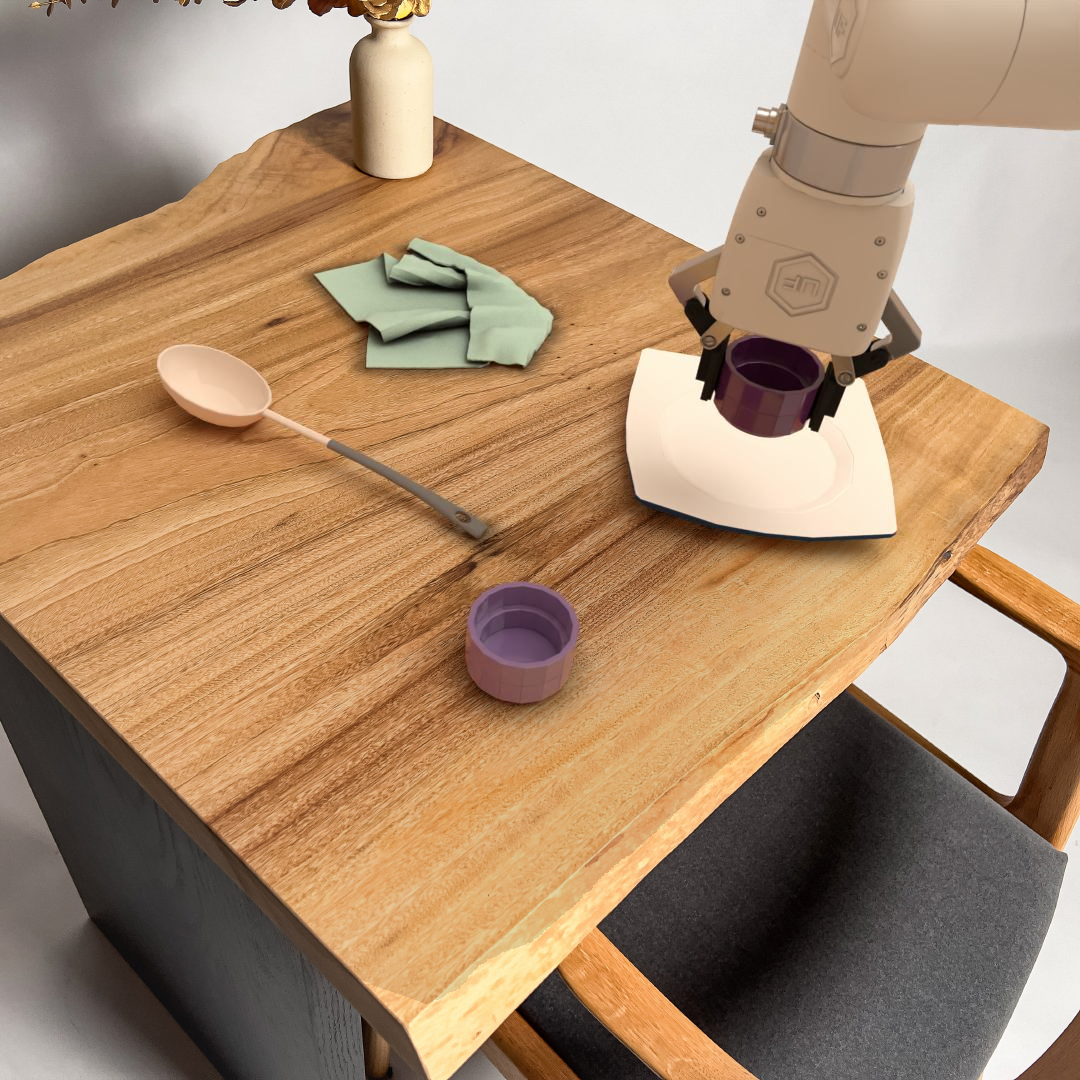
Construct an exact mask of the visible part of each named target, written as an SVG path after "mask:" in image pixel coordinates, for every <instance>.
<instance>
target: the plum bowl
mask: <svg viewBox="0 0 1080 1080" xmlns="http://www.w3.org/2000/svg"><path fill="white" fill-rule="evenodd" d="M825 368H826V367H825V365H824V364H823V362H822V361H821V359H820V358H819V356H818V355H817V354H816V353H814V352H813V350H811V349H807V348H804V347H800V346H796V345H792V344H788V343H785V342H781V341H777V340H773V339H770V338H766V337H762V336H759V335H755V334H746V335H744V336H741V337H739V338H736V339H733V340H732V341H731V343H730V344H728V346H727V348H726V350H725V354H724V357H723V361H722V364H721V368H720V372H719V375H718V379H717V382H716V386H715V390H714V399H713V401H714V404H715V406H716V408H717V410H718V412H719V414H721V416H723V417H724V419H725V420H726V421H727V422H728V423H729V424H731V425H732V426H733V427H735V428H737V429H738V430H740V431H742V432H745V433H747V434H750V435H753V436H758V437H764V438H777V437H783V436H788V435H791V434H794V433H796V432H798V431H800V430H802V429H803V428H804V427H805V425H806V424H807V423H808V421H809V420H810V417H811V415H812V412H813V409H814V407H815V404H816V401H817V399H818V396H819V393H820V391H821V388H822V385H823V382H824V380H825V372H826V369H825Z"/></svg>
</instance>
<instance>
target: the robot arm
mask: <svg viewBox="0 0 1080 1080" xmlns="http://www.w3.org/2000/svg"><path fill="white" fill-rule="evenodd" d="M801 43H802V44H801V46H800V50H799V54H798V58H797V62H796V65H795V69H794V73H793V77H792V79H791V84H790V88H789V90H788V95H787V99H786V103H780V105H779V108H778V107H775V106H773V107H771V109H769V108H765V107H761V106H758V107H757V108H756V112H755V116H754V119H753V123H752V127H751V132H752V133H756V134H761V135H763V138H765V139H768V140H769V142H768V145H770V146H769V147H767V148H765V149H764V150H763V151H762V152H761V154H760V155H759V157H758V158H757V159H756V161H755V163H754V165H753V167H752V169H751V170H750V173H749V175H748V177H747V178H746V179H747V180H746V182H745V184H744V185H743V188H742V190H741V194H740V196H739V198H738V202H737V204H736V207H735V210H734V212H733V216H732V219H731V222H730V225H729V229H728V232H727V235H726V238H725V240H724V244H721V245H719V246H717V247H715V248H713V249H711V250H708V251H706V252H704V253H702V254H700V255H698V256H696V257H693V258H691V259H689V260H687V261H685V262H682V263H680V264H679V265H676V266H675V267H673V269H672V271H671V273H670V275H669V277H668V280H667V283H668V285H669V287H670V289H671V291H672V292H673V294H674V296H675V297H676V299H677V300H678V302H679V304H681V305H682V307H683V313H684V315H685V317H686V318H687V319H688V321H689V323H690V324H691V326H692V328H693V329H694V330H695V331H696V333H697V334H698V336H699V337H700V339H699V343H700V345H701V347H702V351H701V355H700V357H701V359H700V362H699V366H698V370H697V374H696V378H695V380H699V381H702V382H704V386H703V390H702V393H701V397H700V400H704V401H708V400H711V398H712V395H713V392H714V390H715V386H716V382H717V379H718V375H719V372H720V368H721V364H722V361H723V357H724V354H725V350H726V348H727V347H728V346H729V342H730V339H731V337H732V336H731V335H732V334H731V333H732V332H733V331H734V330H737V331H741V332H746V333H748V334H750V335H759V336H762V337H766V338H770V339H773V340H777V341H781V342H785V343H788V344H792V345H796V346H800V347H804V348H807V349H809V350H810V351H815V352H820V353H823V354H827V355H830V357H831V360H829V361H828V364H827V366H826V369H825V380H824V382H823V385H822V388H821V391H820V393H819V396H818V399H817V401H816V404H815V407H814V409H813V412H812V415H811V417H810V421H809V425H808V428H811V431H814V432H818V431H819V429H820V426H821V424H822V421H823V418H824V416H829V417H832V418H834V417H835V414H836V412H837V409H838V407H839V404H840V402H841V399H842V397H843V394H844V392H845V389H846V386H850V385H852V384H853V383H854V381H855V379H856V378H861V377H864V376H867V375H868V374H871V373H874V372H876V371H879V370H881V369H883V368H885V367H886V366H887V365H888V363H890V362H891V361H896V360H898V359H900V358H902V357H905V356H906V355H909V354H911V353H913V352H915V351H917V350H918V349H920V348H921V344H922V335H923V332H922V330H921V329H922V328H921V327H920V326H919V325H918V324H917V322H916V320H915V319H914V318H913V316H912V315H911V313H910V312H909V310H908V309H907V307H906V306H905V305H904V303H903V301H902V300H901V298H900V297H899V295H898V294H897V293H896V291H895V290H894V288H893V285H894V282H895V280H896V276H897V273H898V270H899V267H900V264H901V261H902V257H903V254H904V252H905V251H904V250H905V247H906V244H907V241H908V237H909V232H910V227H911V223H912V219H913V214H914V208H915V200H916V194H915V186H914V184H913V182H912V180H911V179H910V178H909V176H910V173H911V171H912V168H913V166H914V164H915V160H916V157H917V155H918V152H919V150H920V146H921V144H922V142H923V139H924V136H925V133H926V131H927V128H928V125H934V126H935V125H936V126H971V127H972V126H973V127H991V128H993V127H995V128H1013V129H1014V128H1015V129H1033V130H1047V131H1065V132H1066V131H1080V0H813V3H812V6H811V9H810V13H809V18H808V21H807V24H806V28H805V32H804V36H803V40H802V42H801ZM711 278H714V280H713V283H712V286H711V291H710V296H709V297H708V295H707V294H706V293H705V292H704V291H702V290H701V286H700V283H703V282H705V281H707V280H710V279H711ZM881 322H882V323H883V325H884V326H885V328H886V329H887V330H888V332H889V334H887V335H885V336H884V337H882V338H876V339H874V337H875V334H876V332H877V329H878V327H879V325H880V323H881ZM873 339H874V340H873Z"/></svg>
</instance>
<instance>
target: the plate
mask: <svg viewBox="0 0 1080 1080" xmlns="http://www.w3.org/2000/svg"><path fill="white" fill-rule="evenodd" d="M700 359H701V356H699V355H693V354H686V353H680V352H675V351H667V350H662V349H661V350H660V349H656V348H655V349H654V348H649V347H646V348H644V349H641V353H640V357H639V360H638V363H637V368H636V370H635V374H634V378H633V382H632V385H631V388H630V391H629V396H628V403H627V410H626V417H625V424H624V434H625V436H624V437H625V438H624V439H625V458H626V462H627V467H628V472H629V477H630V482H631V487H632V492H633V497H634V500H636V501H637V502H638V503H639V504H641V505H642V506H644V507H646V508H647V509H651V510H654V511H655V510H656V511H658V512H661V513H664V514H667V515H671V516H674V517H676V518H679V519H683V520H686V521H689V522H692V523H694V524H698V525H700V526H704V527H707V528H709V529H710V528H711V529H713V530H720V531H725V532H730V533H736V534H740V535H741V534H742V535H747V536H752V537H753V536H754V537H759V538H767V539H774V540H775V539H777V540H784V541H785V540H787V541H797V542H806V543H815V542H838V541H839V542H840V541H860V540H880V539H890V538H891V539H892V538H893V537H894V536H896V534H897V532H898V526H897V525H898V524H897V516H896V506H895V497H894V489H893V488H894V487H893V482H892V475H891V471H890V470H891V469H890V465H889V460H888V456H887V452H886V448H885V445H884V441H883V437H882V434H881V430H880V426H879V423H878V421H877V417H876V414H875V411H874V408H873V405H872V402H871V398H870V395H869V392H868V389H867V385H866V382H865V380H864V379H862V378H861V377H859V378H856V379H855V381H854V383H853V384H852V385H850V386H846V389H845V392H844V394H843V397H842V399H841V402H840V404H839V407H838V409H837V412H836V414H835V417H834V418H832V417H829V416H824V418H823V421H822V424H821V426H820V429H819V431H818V432H814V431H811V428H808V425H809V421H810V420H809V421H808V423H807V424H806V425H805V427H804V428H803V429H802V430H800V431H798V432H796V433H794V434H791V435H788V436H783V437H777V438H764V437H758V436H753V435H750V434H747V433H745V432H742V431H740V430H738V429H737V428H735V427H733V426H732V425H731V424H729V423H728V422H727V421H726V420H725V419H724V417H723V416H721V414H719V412H718V410H717V408H716V406H715V404H714V401H713V399H714V392H713V395H712V398H711V400H708V401H704V400H700V397H701V393H702V390H703V386H704V382H702V381H699V380H695V378H696V374H697V370H698V366H699V362H700Z"/></svg>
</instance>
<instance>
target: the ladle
mask: <svg viewBox="0 0 1080 1080" xmlns="http://www.w3.org/2000/svg"><path fill="white" fill-rule="evenodd" d="M156 369H157V374H158V376H159V379H160V382H161V384H162V387H163V388H164V390H165V391H166V392H167V393H168V394H169V395H170V397H171V398H172V399H173V400H174V401H175V402H176V404H177V405H178V406H180V407H181V408H182V409H184V410H185V411H186V412H187V413H188V414H190V415H192V416H194V417H196V418H197V419H199V420H202V421H204V422H207V423H210V424H214V425H216V426H220V427H227V428H228V427H229V428H240V427H246V426H249V425H252V424H254V423H256V422H258V421H260V420H262V419H263V418H266V419H268V420H270V421H272V422H274V423H276V424H278V425H281V426H282V427H285V428H287V429H288V430H291V431H292V432H295V433H297V434H299V435H301V436H303V437H305V438H307V439H309V440H311V441H314V442H316V443H318V444H320V445H322V446H324V447H326V449H328V450H330V451H332V452H335V453H336V454H338V455H341V456H343V457H345V458H347V459H348V460H351V461H353V462H355V463H357V464H359V465H361V466H362V467H364V468H366V469H368V470H370V471H371V472H373V473H375V474H377V475H378V476H380V477H383V478H384V479H386V480H387V481H390V482H392V483H393V484H394V485H396V486H398V487H400V488H401V489H403V490H405V491H407V492H408V493H410V494H411V495H413V496H415V497H416V498H418V499H419V500H421V501H422V502H423V503H424V504H426V505H428V506H429V507H430V508H432V509H433V510H435V511H436V512H437V513H439V514H441V516H443V517H445V518H446V519H447V520H449V521H450V522H452V524H454V525H456V526H458V527H459V528H460V529H461V530H463V531H464V532H466V533H468V534H470V536H472V537H474V538H475V539H480V538H482V537H483V536H484V535H485V533H486V532H487V531H488V529H489V526H488V524H486V523H485V522H483V521H481V519H478V518H477V517H475V516H474V515H473V514H471V513H469V512H467V510H465V509H464V508H462V507H461V506H458V505H457V504H455V503H453V502H452V501H450V500H447V499H446V498H444V497H442V496H441V495H439V494H437V493H435V492H433V491H432V490H430V489H428V488H427V487H424V486H423V485H421V484H419V483H417V482H416V481H414V480H412V479H410V478H409V477H407V476H405V475H403V474H402V473H401V472H399V471H397V470H394V469H393V468H391V467H389V466H387V465H386V464H384V463H381V462H379V461H377V460H375V459H374V458H373V457H370V456H368V455H366V454H364V453H362V452H360V451H358V450H356V449H354V448H351V447H350V446H347V445H345V444H343V443H341V442H339V441H337V440H335V439H331V438H329V437H328V436H326V435H323V434H322V433H319V432H317V431H315V430H313V429H311V428H309V427H307V426H305V425H302V424H300V423H298V422H296V421H294V420H292V419H290V418H288V417H285V416H284V415H282V414H279V413H277V412H275V411H273V410H271V409H269V408H270V406H271V404H272V391H271V388H270V386H269V384H268V382H267V380H266V379H265V378H264V377H263V376H262V375H261V374H260V373H259V372H258V370H257V369H255V368H253V367H252V366H251V365H249V364H248V363H246V362H245V361H244V360H242V359H240V358H238V357H236V356H234V355H233V354H230V353H228V352H226V351H223V350H220V349H216V348H214V347H210V346H207V345H199V344H192V343H188V344H187V343H186V344H185V343H184V344H175V345H172V346H169V347H167V348H164V349H163V350H162V351H161V352H160V353H159V354H158V356H157V360H156ZM456 515H461V516H463V517H465V518H467V520H468V521H469V522H462V521H461V520H459V519H458V518H457V516H456Z"/></svg>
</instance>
